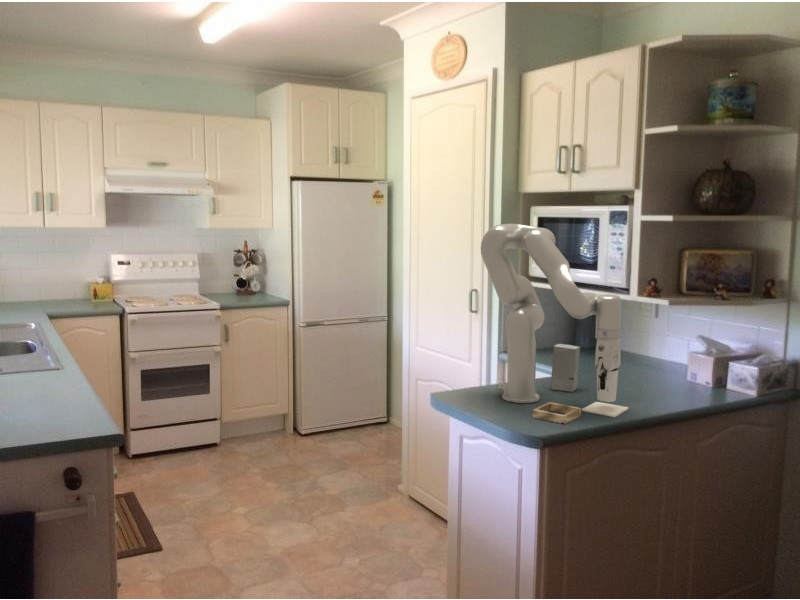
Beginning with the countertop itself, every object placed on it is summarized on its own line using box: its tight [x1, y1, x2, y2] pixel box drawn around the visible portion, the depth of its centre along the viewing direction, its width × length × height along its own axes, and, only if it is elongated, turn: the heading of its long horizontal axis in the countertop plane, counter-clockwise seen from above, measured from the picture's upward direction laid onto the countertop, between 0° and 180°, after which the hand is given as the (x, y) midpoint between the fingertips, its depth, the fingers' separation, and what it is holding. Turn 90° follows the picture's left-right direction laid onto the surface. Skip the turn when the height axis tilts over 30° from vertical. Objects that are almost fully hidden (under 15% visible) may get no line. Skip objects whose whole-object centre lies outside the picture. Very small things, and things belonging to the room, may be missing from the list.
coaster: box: [581, 401, 629, 418], centre depth 231 cm, size 11×11×1 cm
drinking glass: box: [596, 368, 619, 403], centre depth 230 cm, size 7×7×10 cm
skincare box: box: [550, 343, 581, 393], centre depth 256 cm, size 8×7×16 cm
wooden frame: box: [532, 401, 582, 425], centre depth 224 cm, size 11×11×2 cm
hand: (606, 389), depth 230 cm, fingers closed on drinking glass, 3 cm apart
